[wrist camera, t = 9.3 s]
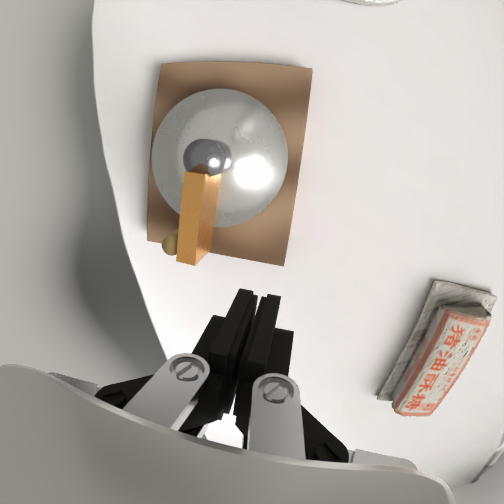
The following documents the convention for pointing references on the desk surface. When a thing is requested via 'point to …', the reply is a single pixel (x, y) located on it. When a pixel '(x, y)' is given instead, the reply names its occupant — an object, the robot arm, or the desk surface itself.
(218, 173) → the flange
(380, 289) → the desk surface
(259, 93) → the board
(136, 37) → the desk surface
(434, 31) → the desk surface
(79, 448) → the robot arm
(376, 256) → the desk surface
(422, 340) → the packaged product
